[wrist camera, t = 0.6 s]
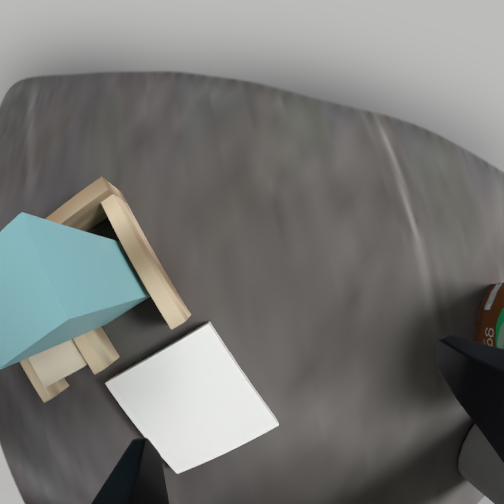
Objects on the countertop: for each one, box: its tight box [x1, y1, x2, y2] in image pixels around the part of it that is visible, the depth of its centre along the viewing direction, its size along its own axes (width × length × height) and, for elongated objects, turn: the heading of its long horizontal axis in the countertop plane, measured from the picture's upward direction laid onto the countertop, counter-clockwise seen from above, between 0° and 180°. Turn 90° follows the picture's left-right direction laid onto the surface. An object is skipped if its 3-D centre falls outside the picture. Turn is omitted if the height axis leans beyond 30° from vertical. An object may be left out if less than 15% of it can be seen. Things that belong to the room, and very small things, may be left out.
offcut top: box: [28, 339, 87, 388], centre depth 17 cm, size 7×4×2 cm, turn 30°
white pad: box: [105, 321, 279, 474], centre depth 20 cm, size 9×9×1 cm
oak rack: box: [20, 177, 191, 403], centre depth 18 cm, size 10×13×4 cm
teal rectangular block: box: [0, 212, 151, 370], centre depth 14 cm, size 4×4×12 cm
